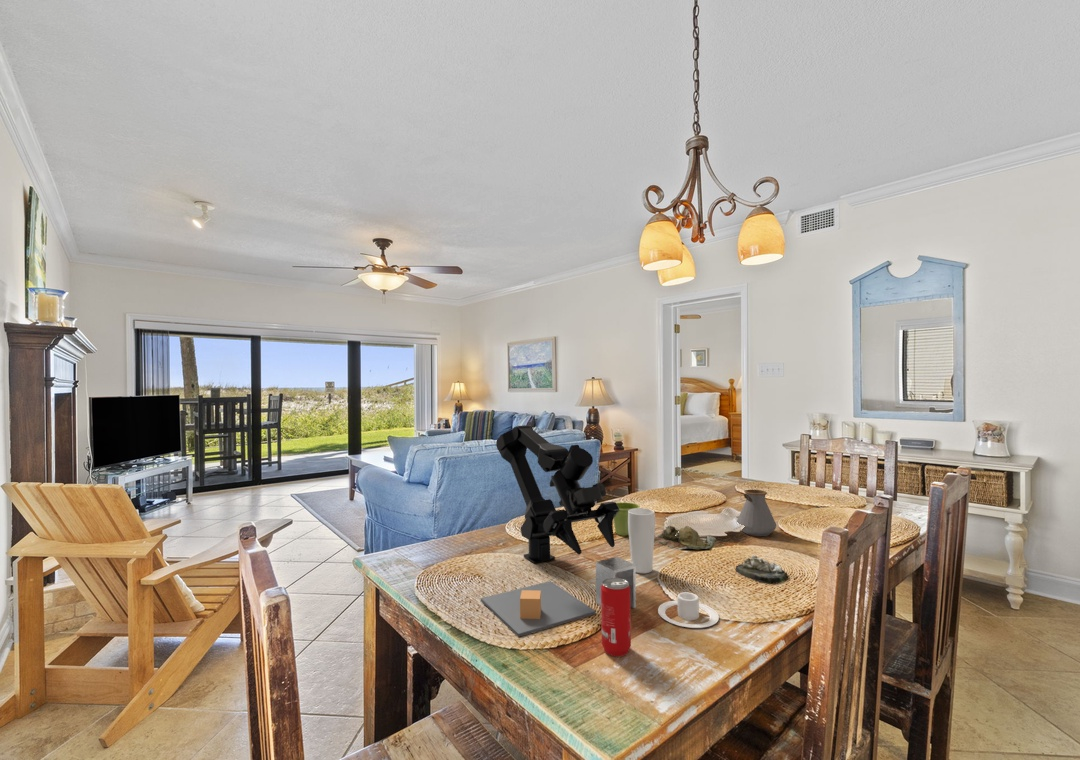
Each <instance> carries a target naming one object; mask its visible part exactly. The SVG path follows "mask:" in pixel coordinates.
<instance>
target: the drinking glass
mask: <svg viewBox="0 0 1080 760" xmlns="http://www.w3.org/2000/svg"><path fill="white" fill-rule="evenodd" d="M655 513H656V512H655V511H654V510H653V509H650V508H645V507H643V508H642V507H640V508H633V509H630V510H629V511H628V532H629V535H628V539H629V540H628V541H629V551H630V553H629V554H630V563H632V564H634V565H636V573H637V574H651V572H652V571H653V564H654V560H653V559H654V550H655V549H654V548H655V547H654V546H655V535H656V515H655Z"/></svg>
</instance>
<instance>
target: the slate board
mask: <svg viewBox="0 0 1080 760" xmlns="http://www.w3.org/2000/svg"><path fill="white" fill-rule="evenodd" d="M522 590H537V591H541V615H540V619H520V596H521V592H522ZM480 601H481V602H482V604H483V605H484V606H485V607H487V608H488V609H489V610H490V612H492V613H493V614H494V615H495V617H497V618H498V620H500V621H501V622H502V623H503V624H504V625H505V626H506V627H507V628H509V630H511V631H512V632H513V634H515V635H516V636H517V638H520V637H522V636H523V637H524V636H526V635H527V636H528V635H530V634H533V633H537V632H541V631H543V630H546V629H550V628H553V627H556V626H557V627H558V626H559V625H564V624H566V623H571V622H574V621H577V620H580V619H583V618H587V617H590V616H593V615H596V613H597V611H596V609H593V608H592V607H590V605H588V604H586V603H584V602H583V601H582V600H580V599H578V598H577V597H575V596H574V595H572V594H571V593H569V592H568V591H567V590H565V589H564V588H562V587H560V586H559V585H557V584H556V583H554V582H553V581H551V580H550V581H545V582H541V583H537V584H533V585H528V586H524V587H521V588H518V589H517V588H516V589H513V590H509V591H505V592H499V593H497V594H492V595H488V596H484V597H481V598H480Z"/></svg>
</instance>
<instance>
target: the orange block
mask: <svg viewBox="0 0 1080 760" xmlns="http://www.w3.org/2000/svg"><path fill="white" fill-rule="evenodd" d="M540 615H541V591H537V590H522V592H521V596H520V619H540Z"/></svg>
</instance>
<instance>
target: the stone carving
mask: <svg viewBox="0 0 1080 760" xmlns="http://www.w3.org/2000/svg"><path fill="white" fill-rule="evenodd" d="M735 572H736V573H738V574H740V575H741V576H743V577H745V578H748V579H750V580H753V581H756V582H760V583H765V584H779V583H780V584H781V583H784V582H785V581H788V579H789V575H788V573H787V572H786V571H785V570H783V568H782V567H781V565H778V564H776V563H775V562H771V563H770V562H768V561H767V560H764V559H763V558H761V557H758V556H757V555H755V554H754V555H751V556H750V558H745V560H744V562H743V563H742V564H738V565H736V566H735Z"/></svg>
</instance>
